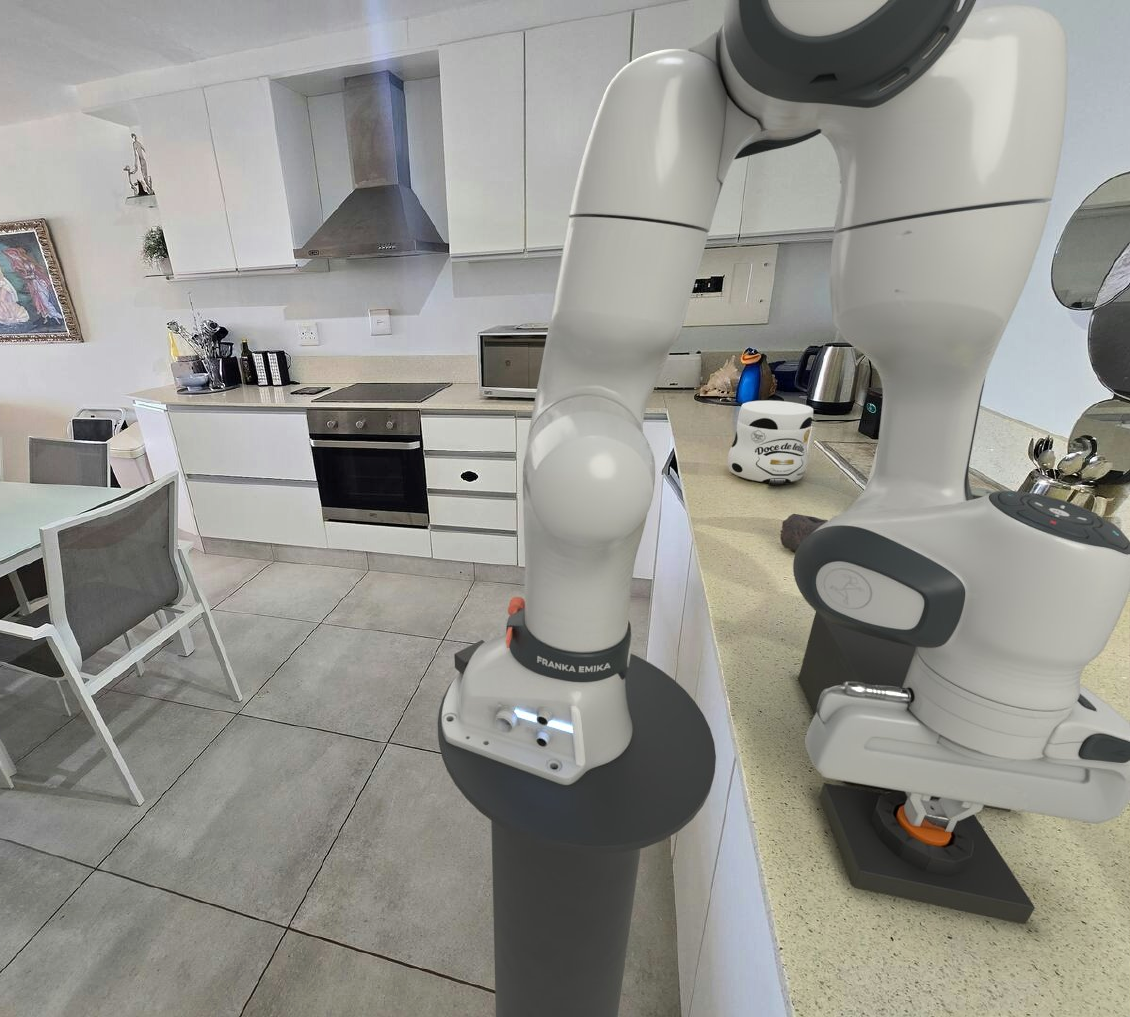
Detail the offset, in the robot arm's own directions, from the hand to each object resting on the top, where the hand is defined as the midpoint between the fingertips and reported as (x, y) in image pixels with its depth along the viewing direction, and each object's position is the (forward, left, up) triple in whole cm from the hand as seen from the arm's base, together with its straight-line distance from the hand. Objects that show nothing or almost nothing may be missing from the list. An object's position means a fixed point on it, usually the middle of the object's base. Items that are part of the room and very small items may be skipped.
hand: (926, 822), depth 47 cm
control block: (0, 0, -4) cm, 4 cm away
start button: (0, 0, -2) cm, 2 cm away
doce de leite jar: (+10, +102, -4) cm, 103 cm away
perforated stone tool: (+11, +60, -4) cm, 61 cm away
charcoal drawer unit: (+4, +15, -4) cm, 16 cm away
